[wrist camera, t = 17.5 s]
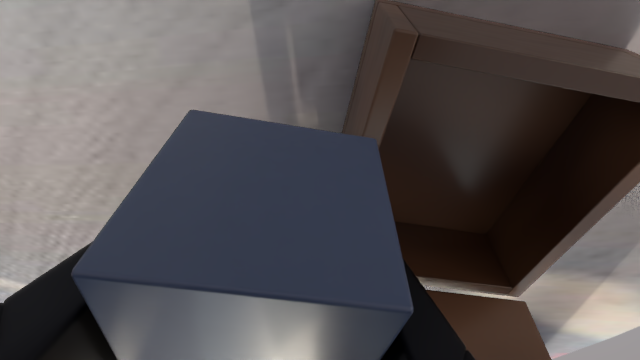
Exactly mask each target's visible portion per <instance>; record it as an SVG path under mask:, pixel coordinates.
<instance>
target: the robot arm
mask: <svg viewBox="0 0 640 360" xmlns="http://www.w3.org/2000/svg"><path fill="white" fill-rule="evenodd" d="M91 244H92V242H91V243H90V244H88V245H87V246H85V247H84V248H82V249H81V250H79V251H78V252H76V253H75V254H73V255H72V256H70V257H69V258H67V259H66V260H64V261H63V262H61V263H60V264H58V265H57V266H55V267H54V268H52V269H51V270H49V271H48V272H46V273H45V274H43V275H41V276H40V277H38V278H37V279H35V280H34V281H32V282H31V283H29V284H28V285H26V286H25V287H23V288H22V289H20V290H19V291H17V292H16V293H14V294H13V295H11V296H10V297H8V298H7V299H6V300H5V301H4V303H0V360H117V358H116V356H115V355H114V353H113V351H112V349H111V347H110V346H109V344H108V342H107V340H106V338H105V336H104V335H103V333H102V331H101V329H100V327H99V326H98V324H97V322H96V320H95V318H94V316H93V315H92V313H91V311H90V309H89V307H88V306H87V304H86V302H85V300H84V298H83V297H82V295H81V293H80V291H79V289H78V287H77V286H76V284H75V282H74V280H73V278H72V277H71V273H72V270H73V268H74V267H75V265H76V264H77V263H78V261H79V260H80V258H81V257H82V256H83V254H84V253H85V252H86V250H87V249H88V248H89V246H90V245H91ZM402 258H403V257H402ZM403 263H404V267H405V272H406V276H407V281H408V285H409V290H410V294H411V299H412V303H413V314H412V315H411V316H410V318H409V319H408V321H407V322H406V324H405V325H404V327H403V328H402V330H401V331H400V332H399V334H398V335H397V337H396V338H395V340H394V341H393V343H392V344H391V346H390V347H389V348H388V350H387V351H386V353H385V354H384V356H383V357H382V359H381V360H475V358H474V357H473V355H472V354H471V353H470V351H469V350H466V346H465V344H464V343H463V342H462V340H461V339H460V337H459V336H458V335H457V333H456V332H455V330H454V329H453V328H452V326H451V325H450V323H449V322H448V321H447V319H446V318H445V316H444V315H443V314H442V312H441V311H440V309H439V308H438V307H437V305H436V304H435V302H434V301H433V300H432V298H431V297H430V295H429V294H428V292H427V291H426V290H425V288H424V287H423V285H422V284H421V283H420V281H419V280H418V278H417V277H416V276H415V274H414V273H413V271H412V270H411V269H410V267H409V266H408V264H407V263H406V262H405V260H404V259H403Z"/></svg>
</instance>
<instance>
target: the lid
mask: <svg viewBox="0 0 640 360" xmlns="http://www.w3.org/2000/svg"><path fill="white" fill-rule="evenodd" d="M426 291H427V292H428V294H429V295H430V297H431V298H432V300H433V301H434V302H435V304H436V305H437V307H438V308H439V309H440V311H441V312H442V314H443V315H444V316H445V318H446V319H447V321H448V322H449V323H450V325H451V326H452V328H453V329H454V330H455V332H456V333H457V335H458V336H459V337H460V339H461V340H462V342H463V343H464V344H465V346H466V350H469V351H470V353H471V354H472V355H473V357H474V358H475V360H551V358H550V356H549V353H548V351H547V349H546V347H545V345H544V342H543V340H542V338H541V336H540V333H539V331H538V329H537V327H536V325H535V322H534V320H533V318H532V316H531V314H530V311H529V309H528V307H527V305H526V302H523V301H515V300H507V299H498V298H490V297H482V296H473V295H465V294H456V293H448V292H440V291H431V290H426Z"/></svg>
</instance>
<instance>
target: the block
mask: <svg viewBox="0 0 640 360" xmlns="http://www.w3.org/2000/svg"><path fill="white" fill-rule="evenodd" d="M71 277H72V278H73V280H74V282H75V284H76V286H77V287H78V289H79V291H80V293H81V295H82V297H83V298H84V300H85V302H86V304H87V306H88V307H89V309H90V311H91V313H92V315H93V316H94V318H95V320H96V322H97V324H98V326H99V327H100V329H101V331H102V333H103V335H104V336H105V338H106V340H107V342H108V344H109V346H110V347H111V349H112V351H113V353H114V355H115V356H116V358H117V360H381V359H382V357H383V356H384V354H385V353H386V351H387V350H388V348H389V347H390V346H391V344H392V343H393V341H394V340H395V338H396V337H397V335H398V334H399V332H400V331H401V330H402V328H403V327H404V325H405V324H406V322H407V321H408V319H409V318H410V316H411V315H412V314H413V303H412V299H411V294H410V290H409V285H408V281H407V276H406V272H405V267H404V263H403V258H402V253H401V249H400V244H399V240H398V235H397V231H396V226H395V222H394V217H393V213H392V208H391V204H390V199H389V195H388V190H387V186H386V181H385V177H384V172H383V168H382V163H381V159H380V154H379V149H378V145H377V140H376V139H374V138H368V137H362V136H355V135H349V134H343V133H336V132H330V131H324V130H317V129H311V128H305V127H298V126H292V125H286V124H280V123H273V122H267V121H261V120H254V119H248V118H242V117H235V116H229V115H223V114H216V113H210V112H204V111H198V110H190V111H189V112H188V113H187V115H186V116H185V117H184V119H183V120H182V121H181V123H180V124H179V125H178V127H177V128H176V129H175V131H174V132H173V134H172V135H171V136H170V138H169V139H168V140H167V142H166V143H165V144H164V146H163V147H162V148H161V150H160V151H159V153H158V154H157V155H156V157H155V158H154V159H153V161H152V162H151V163H150V165H149V166H148V167H147V169H146V170H145V172H144V173H143V174H142V176H141V177H140V178H139V180H138V181H137V182H136V184H135V185H134V187H133V188H132V189H131V191H130V192H129V193H128V195H127V196H126V197H125V199H124V200H123V201H122V203H121V204H120V206H119V207H118V208H117V210H116V211H115V212H114V214H113V215H112V216H111V218H110V219H109V220H108V222H107V223H106V225H105V226H104V227H103V229H102V230H101V231H100V233H99V234H98V235H97V237H96V238H95V239H94V241H93V242H92V244H91V245H90V246H89V248H88V249H87V250H86V252H85V253H84V254H83V256H82V257H81V258H80V260H79V261H78V263H77V264H76V265H75V267H74V268H73V270H72V273H71Z"/></svg>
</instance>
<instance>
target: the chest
mask: <svg viewBox="0 0 640 360" xmlns="http://www.w3.org/2000/svg"><path fill="white" fill-rule="evenodd" d="M342 133H343V134H349V135H355V136H362V137H368V138H374V139H376V140H377V145H378V149H379V154H380V159H381V163H382V168H383V172H384V177H385V181H386V186H387V190H388V195H389V199H390V204H391V208H392V213H393V217H394V222H395V226H396V231H397V235H398V240H399V244H400V249H401V253H402V257H403V259H404V260H405V262H406V263H407V264H408V266H409V267H410V269H411V270H412V271H413V273H414V274H415V276H416V277H417V278H418V280H419V281H420V283H421V284H422V285H423V286H430V287H439V288H447V289H455V290H464V291H472V292H480V293H488V294H497V295H506V296H514V297H519V296H520V295H521V294H522V293H523V292H524V291H525V290H526V289H527V288H528V287H529V286H530V285H531V284H533V283H534V282H535V281H536V280H537V279H538V278H539V277H540V276H541V275H542V274H543V273H544V272H545V271H546V270H547V269H548V268H549V267H550V266H552V265H553V264H554V263H555V262H556V261H557V260H558V259H559V258H560V257H561V256H562V255H563V254H564V253H565V252H566V251H567V250H568V249H569V248H571V247H572V246H573V245H574V244H575V243H576V242H577V241H578V240H579V239H580V238H581V237H582V236H583V235H584V234H585V233H586V232H587V231H588V230H590V229H591V228H592V227H593V226H594V225H595V224H596V223H597V222H598V221H599V220H600V219H601V218H602V217H603V216H604V215H605V214H606V213H607V212H608V211H610V210H611V209H612V208H613V207H614V206H615V205H616V204H617V203H618V202H619V201H620V200H621V199H622V198H623V197H624V196H625V195H626V194H627V193H629V192H630V191H631V190H632V189H633V188H634V187H635V186H636V185H637V184H638V183H639V182H640V55H638V54H636V53H634V52H632V51H629V50H627V49H622V48H617V47H612V46H607V45H603V44H598V43H593V42H588V41H583V40H578V39H574V38H569V37H564V36H559V35H554V34H549V33H545V32H540V31H535V30H530V29H525V28H520V27H515V26H511V25H506V24H501V23H496V22H491V21H486V20H482V19H477V18H472V17H467V16H462V15H457V14H453V13H448V12H443V11H438V10H433V9H428V8H423V7H419V6H414V5H409V4H404V3H399V2H394V1H390V0H375V4H374V8H373V12H372V16H371V20H370V24H369V28H368V32H367V36H366V40H365V44H364V47H363V51H362V55H361V59H360V63H359V67H358V71H357V75H356V79H355V83H354V87H353V91H352V95H351V99H350V103H349V107H348V111H347V115H346V119H345V123H344V127H343V131H342Z"/></svg>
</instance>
